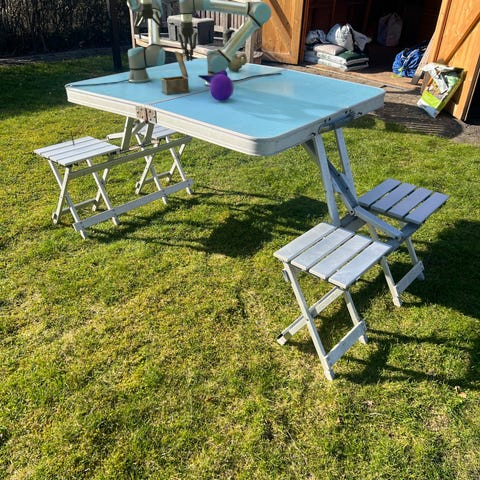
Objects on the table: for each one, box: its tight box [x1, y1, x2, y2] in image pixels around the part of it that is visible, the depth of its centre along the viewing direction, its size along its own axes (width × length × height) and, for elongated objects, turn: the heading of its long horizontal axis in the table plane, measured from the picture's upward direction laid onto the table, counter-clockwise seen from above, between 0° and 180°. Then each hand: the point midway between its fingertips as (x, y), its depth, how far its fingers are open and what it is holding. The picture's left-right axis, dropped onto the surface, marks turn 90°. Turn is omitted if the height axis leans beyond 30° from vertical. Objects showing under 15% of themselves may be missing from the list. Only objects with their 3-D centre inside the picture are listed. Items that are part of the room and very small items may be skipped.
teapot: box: [227, 52, 248, 73], centre depth 364 cm, size 21×12×15 cm, turn 120°
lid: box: [174, 50, 192, 79], centre depth 299 cm, size 16×11×8 cm
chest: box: [160, 75, 190, 96], centre depth 303 cm, size 15×11×9 cm
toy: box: [198, 70, 235, 102], centre depth 281 cm, size 16×18×27 cm
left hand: (150, 38), depth 308 cm, fingers open, 13 cm apart
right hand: (189, 60), depth 299 cm, fingers closed on lid, 2 cm apart
